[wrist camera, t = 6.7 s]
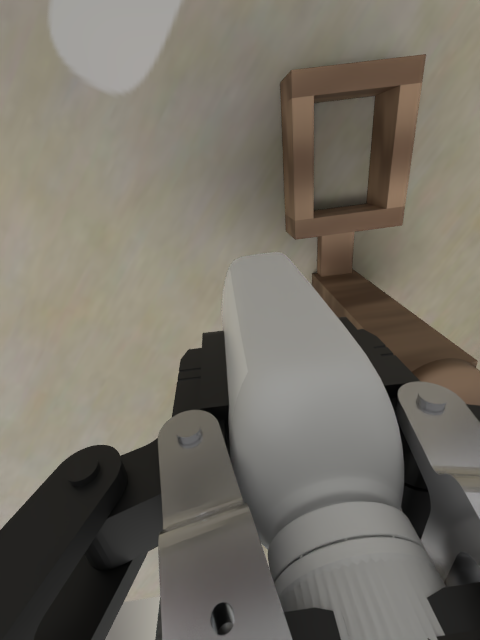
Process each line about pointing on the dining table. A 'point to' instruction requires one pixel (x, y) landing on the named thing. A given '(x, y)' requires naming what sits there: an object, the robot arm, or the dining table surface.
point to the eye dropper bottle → (320, 458)
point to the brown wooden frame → (366, 209)
